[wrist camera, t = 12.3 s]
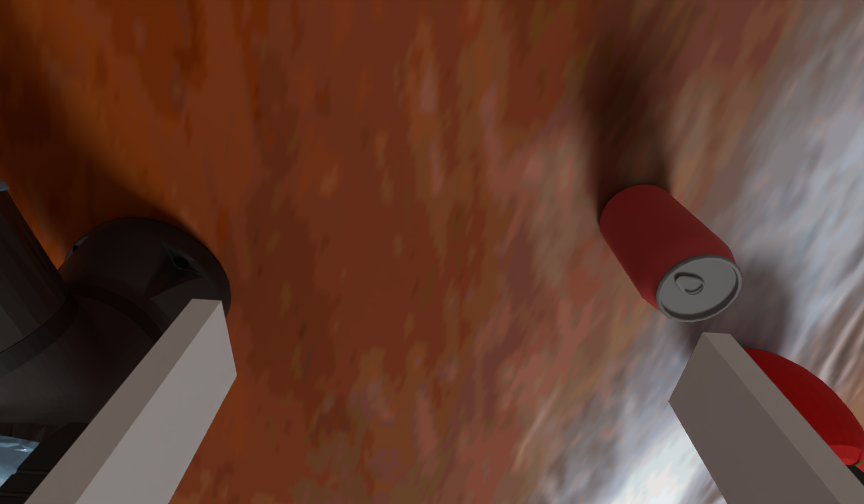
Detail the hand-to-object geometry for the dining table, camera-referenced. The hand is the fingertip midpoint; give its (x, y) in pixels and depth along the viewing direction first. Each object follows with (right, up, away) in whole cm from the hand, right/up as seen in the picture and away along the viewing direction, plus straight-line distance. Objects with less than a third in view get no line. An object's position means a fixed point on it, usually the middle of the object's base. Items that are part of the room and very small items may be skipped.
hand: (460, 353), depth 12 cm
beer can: (+18, +6, +28) cm, 34 cm away
